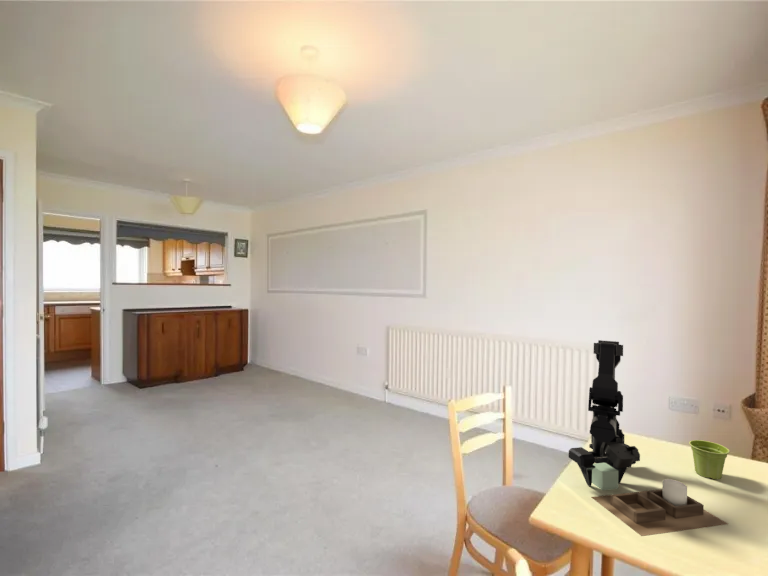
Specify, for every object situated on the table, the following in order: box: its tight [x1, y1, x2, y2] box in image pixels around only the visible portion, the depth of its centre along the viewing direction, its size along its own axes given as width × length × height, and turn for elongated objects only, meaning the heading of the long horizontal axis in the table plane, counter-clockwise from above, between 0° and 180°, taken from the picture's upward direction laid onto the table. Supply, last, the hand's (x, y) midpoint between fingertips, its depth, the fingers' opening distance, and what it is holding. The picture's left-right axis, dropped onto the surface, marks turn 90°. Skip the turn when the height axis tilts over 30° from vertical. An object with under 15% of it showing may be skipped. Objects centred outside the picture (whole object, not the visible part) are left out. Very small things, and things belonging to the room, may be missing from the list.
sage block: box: [592, 462, 619, 491], centre depth 110 cm, size 5×5×6 cm
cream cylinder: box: [661, 478, 688, 506], centre depth 99 cm, size 5×5×6 cm
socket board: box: [591, 488, 729, 537], centre depth 98 cm, size 16×24×4 cm, turn 101°
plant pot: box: [688, 439, 731, 480], centre depth 117 cm, size 9×9×9 cm
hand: (603, 484), depth 110 cm, fingers open, 9 cm apart
